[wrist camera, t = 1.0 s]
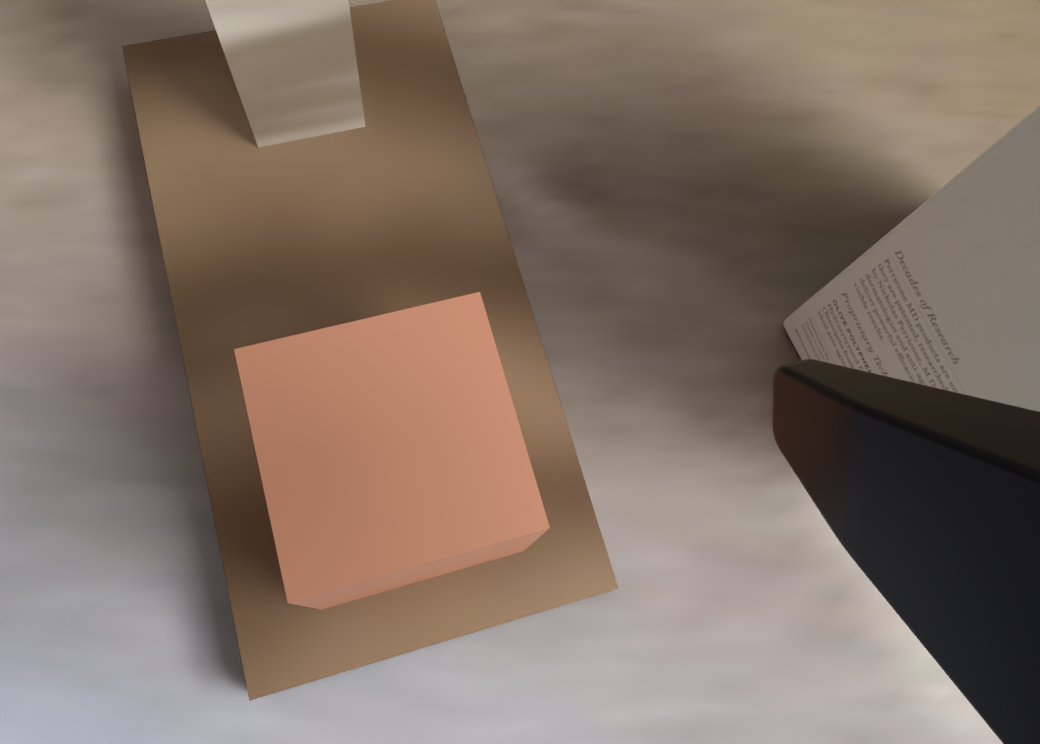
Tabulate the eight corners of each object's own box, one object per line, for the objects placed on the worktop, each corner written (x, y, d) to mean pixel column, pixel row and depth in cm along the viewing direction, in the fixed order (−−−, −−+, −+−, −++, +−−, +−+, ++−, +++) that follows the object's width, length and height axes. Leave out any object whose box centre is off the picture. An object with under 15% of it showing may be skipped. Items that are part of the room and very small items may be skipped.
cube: (523, 551, 21) (550, 527, 16) (321, 609, 20) (287, 603, 15) (469, 363, 22) (480, 291, 18) (277, 411, 21) (234, 349, 17)
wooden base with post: (608, 590, 22) (745, 559, 12) (259, 696, 21) (105, 755, 11) (433, 20, 27) (433, -328, 17) (136, 72, 25) (-50, -279, 15)
